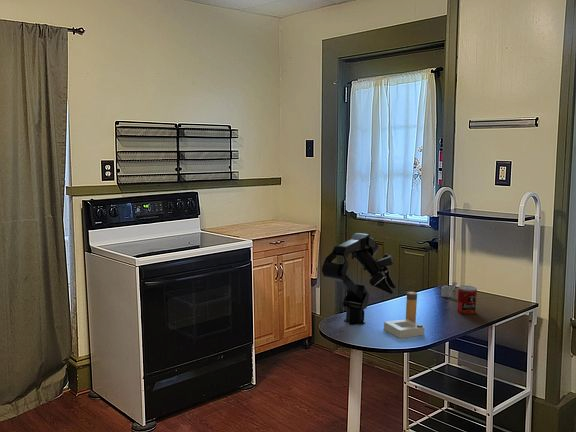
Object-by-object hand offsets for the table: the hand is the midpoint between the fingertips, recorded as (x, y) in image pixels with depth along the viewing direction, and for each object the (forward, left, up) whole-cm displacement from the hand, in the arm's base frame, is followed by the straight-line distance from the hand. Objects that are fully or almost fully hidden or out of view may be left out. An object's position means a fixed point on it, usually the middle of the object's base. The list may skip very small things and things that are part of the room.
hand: (393, 290), depth 231 cm
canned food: (+40, +2, -13) cm, 42 cm away
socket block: (-2, -12, -13) cm, 18 cm away
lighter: (+49, +25, -13) cm, 56 cm away
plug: (+6, -5, -13) cm, 15 cm away
